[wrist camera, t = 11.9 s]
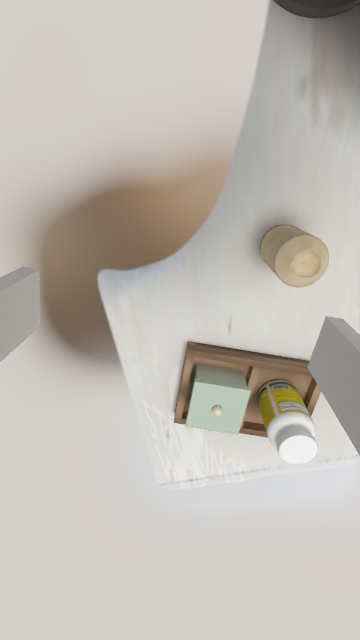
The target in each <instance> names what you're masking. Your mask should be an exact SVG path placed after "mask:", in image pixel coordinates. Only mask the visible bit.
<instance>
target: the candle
mask: <svg viewBox="0 0 360 640" xmlns="http://www.w3.org/2000/svg"><path fill="white" fill-rule="evenodd" d="M261 255H262V258H263V260H264V261H265V262H266V264H267V265H268V266H269V267H270V268H271V269H272V271H273V272H274V273H275V274H276V275H277V276H278V278H279V279H280V280H281V281H282V282H283V283H285V284H287V285H289V286H292V287H305V286H308V285H311V284H313V283H315V282H316V281H317V280H319V279H320V278H321V277H322V275H323V274H324V273H325V271H326V269H327V267H328V263H329V253H328V249H327V247H326V245H325V244H324V243H323V242H322V241H321V240H320V239H319V238H317V237H315V236H313V235H310V234H308V233H306V232H304V231H302V230H300V229H298V228H295V227H293V226H290V225H281V226H277V227H274V228H273V229H271V230H270V231H269V232H268V233H267V234H266V235H265V236H264V238H263V240H262V243H261Z"/></svg>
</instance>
